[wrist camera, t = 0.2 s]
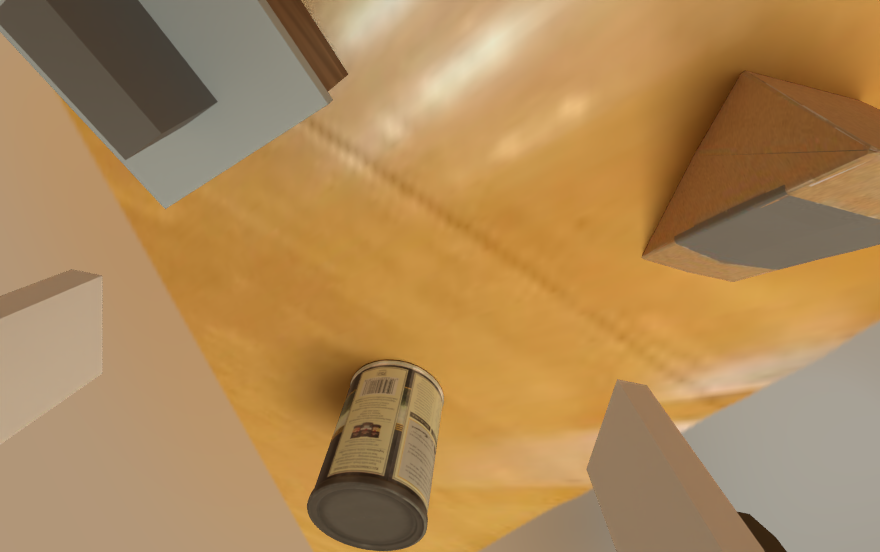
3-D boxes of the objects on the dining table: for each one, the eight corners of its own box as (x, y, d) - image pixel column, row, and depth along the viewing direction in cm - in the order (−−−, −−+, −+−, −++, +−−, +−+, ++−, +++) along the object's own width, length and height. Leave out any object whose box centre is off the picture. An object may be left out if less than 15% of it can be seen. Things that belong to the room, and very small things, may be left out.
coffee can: (391, 436, 58) (361, 561, 46) (331, 381, 54) (281, 503, 42) (464, 407, 54) (451, 537, 42) (405, 344, 50) (372, 469, 38)
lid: (146, -178, 24) (32, -214, 18) (333, 99, 31) (291, 137, 25) (-14, -1, 30) (-139, 14, 24) (173, 202, 36) (109, 253, 31)
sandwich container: (635, 258, 41) (687, 395, 29) (738, 67, 33) (874, 148, 20) (735, 283, 42) (828, 430, 29) (863, 101, 33) (1073, 200, 21)
